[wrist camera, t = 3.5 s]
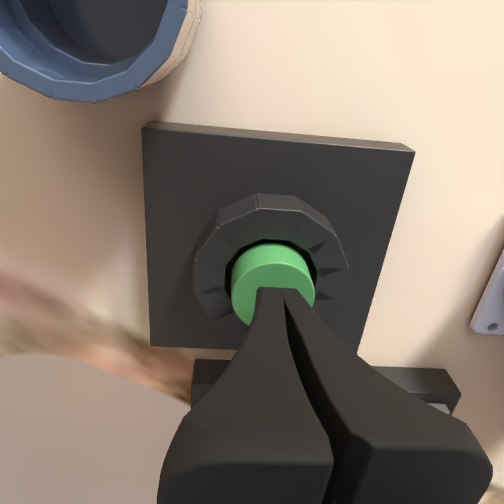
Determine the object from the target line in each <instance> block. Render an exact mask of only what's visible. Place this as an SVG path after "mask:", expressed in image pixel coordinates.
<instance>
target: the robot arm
mask: <svg viewBox="0 0 504 504" xmlns="http://www.w3.org/2000/svg"><path fill="white" fill-rule="evenodd" d="M490 324H491V325H490ZM489 325H490V326H489ZM470 327H471V329H472V330H473V331H474V332H475V333H478V334H494V335H504V249H503V251H502V254H501V256H500V258H499V260H498V262H497V265H496V267H495V269H494V271H493V273H492V276H491V278H490V280H489V282H488V284H487V287H486V289H485V291H484V293H483V295H482V298H481V300H480V302H479V304H478V306H477V309H476V311H475V313H474V315H473V317H472V320H471V322H470ZM492 476H493V466H492V464H491V462H490V461H489V459H488V457H487V455H486V454H485V452H484V450H483V449H482V447H481V445H480V444H479V442H478V440H477V439H476V437H475V436H474V434H473V433H472V431H471V430H470V429H469V427H468V426H467V424H466V423H464V422H462V421H460V420H458V419H456V418H455V417H453V416H451V415H449V414H447V413H445V412H443V411H441V410H439V409H437V408H435V407H433V406H431V405H429V404H428V403H426V402H424V401H422V400H421V399H419V398H417V397H416V396H414V395H412V394H411V393H409V392H407V391H406V390H404V389H403V388H401V387H400V386H398V385H396V384H395V383H393V382H392V381H391V380H389V379H388V378H386V377H385V376H384V375H382V374H381V373H379V372H378V371H377V370H375V369H374V368H373V367H371V366H370V365H369V364H367V363H366V362H365V361H364V360H363V359H361V358H360V357H359V356H358V355H357V354H356V353H354V352H353V351H352V350H351V349H350V348H349V347H348V346H347V345H346V344H344V343H343V342H342V341H341V340H340V339H339V338H338V337H337V336H336V335H335V334H334V333H333V331H332V330H331V329H330V328H329V327H328V326H327V325H326V324H325V323H324V321H323V320H322V319H321V318H320V317H319V316H318V315H317V313H316V312H315V311H314V310H313V308H312V307H311V306H310V305H309V303H308V302H307V301H306V300H305V298H304V297H303V296H302V295H301V293H300V292H299V291H298V290H297V289H296V288H278V287H259V288H258V289H257V292H256V300H255V309H254V314H253V317H252V320H251V323H250V326H249V328H248V330H247V332H246V335H245V337H244V339H243V341H242V343H241V345H240V347H239V349H238V351H237V352H236V354H235V356H234V357H233V359H232V361H231V362H230V364H229V365H228V367H227V368H226V370H225V371H224V372H223V374H222V375H221V377H220V378H219V379H218V380H217V382H216V383H215V384H214V385H213V386H212V388H211V389H210V390H209V391H208V392H207V394H206V395H205V396H204V397H203V398H202V399H201V400H200V401H199V402H198V403H197V404H196V405H195V406H194V407H193V408H192V409H191V410H190V411H189V412H188V413H187V414H186V415H185V416H184V417H183V419H182V421H181V423H180V425H179V427H178V429H177V431H176V433H175V435H174V438H173V440H172V442H171V444H170V446H169V449H168V452H167V454H166V457H165V459H164V463H163V467H162V470H161V474H160V481H159V487H158V494H157V504H478V502H479V501H480V499H481V498H482V496H483V495H484V493H485V492H486V490H487V488H488V486H489V484H490V482H491V479H492Z"/></svg>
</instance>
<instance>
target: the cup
mask: <svg viewBox="0 0 504 504" xmlns="http://www.w3.org/2000/svg"><path fill="white" fill-rule="evenodd" d="M200 18H201V0H0V71H1V72H2V73H3V74H4V75H6V76H7V77H8V78H10V79H12V80H14V81H16V82H18V83H20V84H22V85H24V86H26V87H28V88H30V89H32V90H34V91H36V92H39V93H41V94H43V95H45V96H47V97H49V98H53V99H54V100H64V101H75V102H86V103H101V102H104V101H107V100H110V99H113V98H115V97H118V96H121V95H124V94H127V93H130V92H133V91H135V90H138V89H140V88H143V87H145V86H148V85H150V84H152V83H155V82H157V81H160V80H162V79H163V78H165V77H166V76H167V75H168V74H169V73H170V72H171V71H172V70H173V69H174V68H175V67H176V66H177V65H178V64H179V63H180V62H181V61H182V60H183V59H184V58H185V56H186V55H185V54H187V53H188V51H189V49H190V46H191V44H192V41H193V39H194V36H195V34H196V31H197V29H198V26H199V23H200V21H199V20H200Z"/></svg>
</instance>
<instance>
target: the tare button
mask: <svg viewBox="0 0 504 504" xmlns="http://www.w3.org/2000/svg"><path fill="white" fill-rule="evenodd" d="M259 287H278V288H296V289H297V290H298V291H299V292H300V293H301V295H302V296H303V297H304V298H305V300H306V301H307V302H308V303H309V305H310V306H311V307H312V306H313V303H314V299H315V289H314V285H313V282H312V279H311V276H310V273H309V270H308V267H307V265H306V262H305V260H304V258H303V257H302V256H301V255H300V254H299V253H298V252H297V251H296V250H294V249H293V248H291V247H289V246H287V245H284V244H280V243H263V244H259V245H256V246H254V247H252V248H250V249H248V250H247V251H245V252H244V253H243V254H242V255H241V256H240V257H239V258H238V259H237V261H236V262H235V264H234V267H233V270H232V277H231V302H232V306H233V309H234V311H235V313H236V315H237V316H238V317H239V318H240V319H241V320H242V321H243V322H244V323H245V324H247V325H248V326H250V323H251V320H252V317H253V314H254V309H255V300H256V292H257V289H258V288H259Z"/></svg>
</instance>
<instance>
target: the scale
mask: <svg viewBox="0 0 504 504" xmlns="http://www.w3.org/2000/svg"><path fill="white" fill-rule="evenodd" d="M230 362H231V361H225V360H200V359H196V360H195V362H194V370H193V378H192V388H191V409H192V408H193V407H194V406H195V405H196V404H197V403H198V402H199V401H200V400H201V399H202V398H203V397H204V396H205V395H206V394H207V392H208V391H209V390H210V389H211V388H212V386H213V385H214V384H215V383H216V382H217V380H218V379H219V378H220V377H221V375H222V374H223V372H224V371H225V370H226V368H227V367H228V365H229V364H230ZM371 367H373V368H374V369H375V370H377V371H378V372H379V373H381V374H382V375H384V376H385V377H386V378H388V379H389V380H391V381H392V382H393V383H395V384H396V385H398V386H400V387H401V388H403V389H404V390H406V391H407V392H409V393H411V394H412V395H414V396H416V397H417V398H419V399H421V400H422V401H424V402H426V403H428V404H429V405H431V406H433V407H435V408H437V409H439V410H441V411H443V412H445V413H447V414H449V415H452V412H453V410H454V408H455V406H456V404H457V402H458V400H459V398H460V396H461V392H460V391H459V389H458V388H457V386H456V385H455V383H454V382H453V380H452V379H451V377H450V376H449V374H448V373H447V371H446V370H445V369H428V368H403V367H377V366H371Z"/></svg>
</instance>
